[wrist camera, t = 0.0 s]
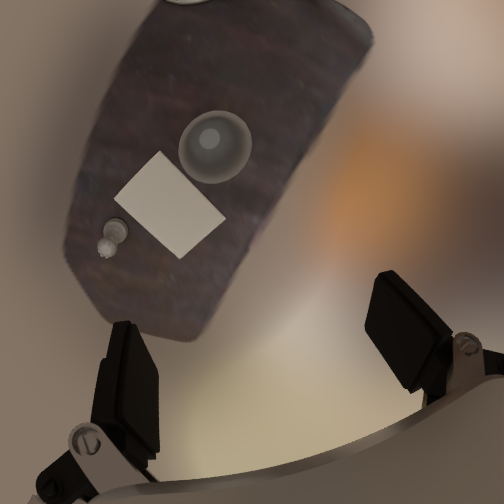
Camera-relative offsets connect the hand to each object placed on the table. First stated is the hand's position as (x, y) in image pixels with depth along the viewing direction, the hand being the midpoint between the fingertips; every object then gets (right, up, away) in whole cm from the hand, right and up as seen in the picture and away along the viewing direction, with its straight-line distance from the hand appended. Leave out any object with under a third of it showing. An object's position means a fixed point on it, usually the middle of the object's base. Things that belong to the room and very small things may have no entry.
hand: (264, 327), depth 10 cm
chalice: (-8, +21, +30) cm, 38 cm away
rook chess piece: (-24, +7, +34) cm, 42 cm away
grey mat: (-14, +10, +35) cm, 39 cm away
